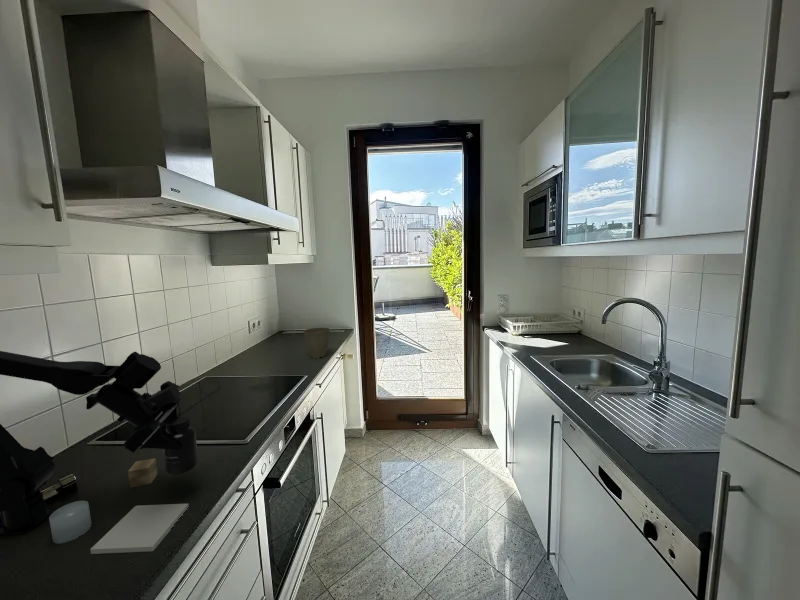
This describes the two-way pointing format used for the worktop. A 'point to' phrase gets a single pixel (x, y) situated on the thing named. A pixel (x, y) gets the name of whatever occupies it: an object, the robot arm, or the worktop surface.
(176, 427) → the supplement bottle
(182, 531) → the worktop surface
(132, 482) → the oak block
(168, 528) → the plate
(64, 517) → the blue-grey rounded cylinder
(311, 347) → the plant pot
